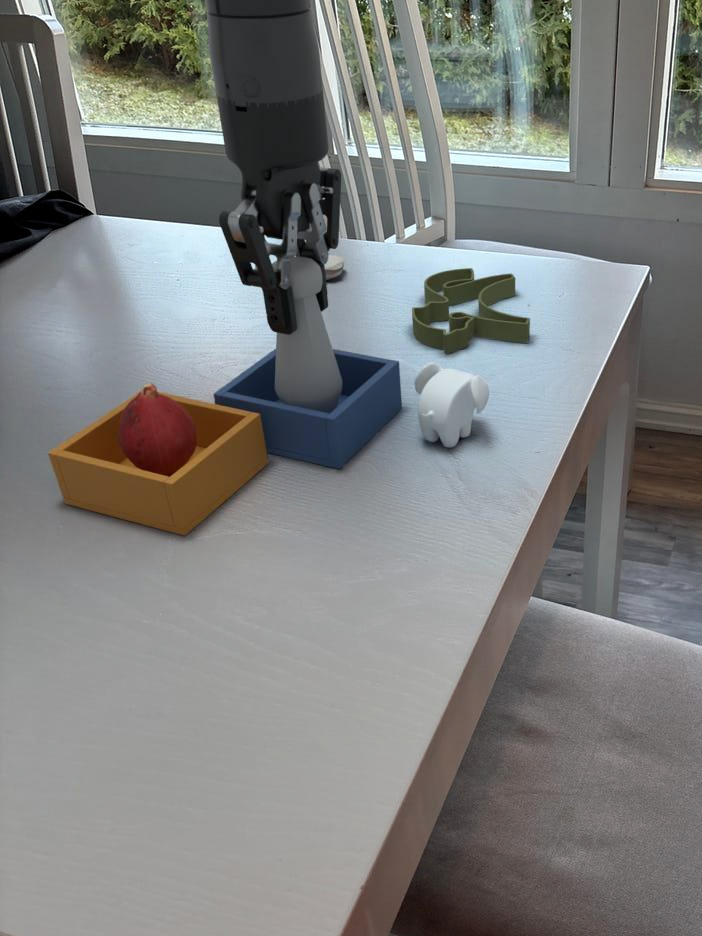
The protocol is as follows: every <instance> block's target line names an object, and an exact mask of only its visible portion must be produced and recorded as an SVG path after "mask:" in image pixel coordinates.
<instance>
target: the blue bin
mask: <svg viewBox="0 0 702 936" xmlns="http://www.w3.org/2000/svg"><path fill="white" fill-rule="evenodd" d="M332 349H333V352H334V355H335V359H336V362H337V365H338V368H339V371H340V375H341V378H342V391H341V395H340V399H339V402H338V405H337V408H336V409H335V410H334V411H332V412H331V413H330V414H329V413H324V412H320V411H315V410H310V409H305V408H301V407H296V406H291V405H286V404H282V402H281V401H280V399H279V397H278V396H277V394H276V391H275V365H276V348H274V349H273V350H271V351H270V352H268V353H267V354H266V355H265V356H263V357H262V358H260V359H259V360H258V361H256V362H255V363H253V365H251V366H250V367H248V368H247V369H245V370H244V371H243V372H242V373H240V374H239V375H237V376H236V377H234V378H233V379H232V380H230V381H229V382H227V383H226V384H225V385H223V386H222V387H221V388H219V389H218V390H217V391H215V392H214V393H213V399H214V404H217V405H222V406H226V407H231V408H235V409H240V410H245V411H249V412H254V413H259V414H260V416H261V422H262V428H263V434H264V439H265V445H266V451H267V454H273V455H277V456H281V457H285V458H289V459H294V460H298V461H304V462H307V463H312V464H314V465H319V466H325V467H327V468H328V467H329V468H334V469H338V470H340V469H341V468H343V466H345V465H346V463H348V461H350V459H352V458H353V457H354V456H355V455H356V454H357V453H358V452H359V451H360V450H361V449H362V448H363V447H364V446H365V445H366V444H367V443H368V442H369V441H370V440H371V439H372V438H373V437H375V436H376V435H377V433H379V431H380V430H382V429H383V427H384V426H386V424H387V423H389V422H390V421H391V420H392V419H393V418H394V417H395V416H396V415H397V414H398V413H399V412H400V411H401V410H402V409H403V406H402V405H403V403H402V402H403V401H402V386H401V370H400V369H401V368H400V361H399V360H394V359H390V358H383V357H378V356H373V355H368V354H362V353H357V352H351V351H347V350H340V349H335V348H332Z"/></svg>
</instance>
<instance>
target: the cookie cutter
mask: <svg viewBox="0 0 702 936" xmlns="http://www.w3.org/2000/svg"><path fill="white" fill-rule="evenodd" d="M423 288H424V289H423V290H424V303H425V305H424V306H418V307H413V306H412V307H411V317H412V319H411V320H412V332H413V333H412V334H413V335H414V337H415V339H416V340H417V341H418V342H420V343H421V344H423V345H425V346H428V347H431V348H435V349H440V350H443V353H444V355H450V354H452V353H453V352H455V351H456V350H464V349H466V348H468V346H469V342H470V341H471V340H473V339H474V338H475V337H479V338H484V339H489V340H493V341H494V340H495V341H501V342H502V341H503V342H511V343H521V344H522V343H523V344H528V342H529V340H530V334H531V333H530V332H531V318H530V317H526V316H519V315H514V314H510V313H505V312H502V311H499V310H496V309H493V308H492V307H490V305H492V304H494V303H496V302H498V301H501V300H503V299H507V298H511V297H515V296H516V277H515V275H514V273H503V274H502V273H501V274H494V275H490V276H486V277H481V278H476V279H475V271H474V269H473V268H472V267H467V268H465V267H464V268H455V269H448V270H443V271H440V272H437V273H434V274H432V275H430V276H428V277H427V278H425V280H424V281H423ZM442 291H443V293H442V294H441V293H439V292H442ZM476 299H478V316H477V315H473V314H469V313H466V312H464V311H455V312H450V307H451V306H455V305H456V306H457V305H459V304H463V303H465V302H469V301H472V300H476ZM446 321H448V329H449V330H448V331H449V332H448V333H447V329H445V328H439V327H434V326H430V323H431V322H446Z"/></svg>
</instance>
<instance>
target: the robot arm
mask: <svg viewBox="0 0 702 936" xmlns="http://www.w3.org/2000/svg"><path fill="white" fill-rule="evenodd" d="M204 5H205V10H206V18H207V32H208V33H207V34H208V51H209V59H210V64H211V65H210V66H211V71H212V77H213V84H214V89H215V90H214V91H215V96H216V102H217V107H218V114H219V119H220V127H221V133H222V139H223V145H224V151H225V155H226V156H227V159H228V161H230V162H231V163H233V164H234V165H235V166H236V167H237V168H238V169H239V171H240V173H241V188H240V189H241V190H240V199H241V202H240V204H239V205H238V206H237V207H236V208H235V209H234V210H233V211H227V210H222V211H221V212H220V214H219V217H218V218H219V219H218V222H219V227H220V228H221V231H222V234H223V236H224V240H225V242H226V244H227V247H228V250H229V252H230V255H231V258H232V260H233V263H234V266H235V269H236V271H237V274H238V277H239V279H240V282H241V284H242V285H243V286H246V287H255V288H256V287H257V288H260V289H261V290H262V295H263V301H264V307H265V308H264V309H265V315H266V321H267V324H268V327H269V329H270V330H271V331H272V332H273V333H276V334H277V333H282V334H287V335H290V334H292V333H293V332H295V331H296V330H297V322H296V314H295V307H294V299H293V292H292V287H290V271H291V258H292V257H306V258H310V259H312V260H314V261H315V262H316V263H317V264H318V265H319V266H320V269H321V272H322V281H323V283H322V287H321V291H320V292H318V293H317V294H316V298H317V301H318V304H319V307H320V311H321V313H322V312H323V311H325V310H326V309H328V307H329V298H328V297H329V296H328V293H329V292H328V284H327V280H326V275H325V265H324V264H326V263H327V261H328V257H329V255H330V254H329V252H330V250H331V249H332V250H336V249H337V248H338V246H339V243H340V242H339V241H340V240H339V239H340V218H341V217H340V216H341V195H342V193H341V192H342V172H341V170H340V169H338V168H331V167H323V166H319V162H320V161H322V160H323V159H325V158H326V156H328V153H329V150H330V149H329V147H330V145H329V138H328V127H327V126H328V125H327V118H326V117H327V116H326V107H325V105H326V104H325V96H324V95H325V94H324V86H323V75H322V74H323V73H322V67H321V65H322V64H321V55H320V48H319V41H318V36H317V32H316V27H315V23H314V18H313V12H312V11H313V10H312V8H311V7H312V1H311V0H204ZM324 216H325V217H326V221H325V218H324ZM266 238H268V239H269V238H270V239H275V240H280V241H281V240H282V241H281V243H280V244H277V243H273V242H272V243H270V242H268V241H267V240H266ZM270 256H274V257H275V258H276V261H277V272H276V271H274V269H273V266H272V263H273V262H272V260H271V258H270ZM252 264H254V267H253V265H252Z"/></svg>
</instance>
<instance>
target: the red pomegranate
mask: <svg viewBox="0 0 702 936" xmlns="http://www.w3.org/2000/svg"><path fill="white" fill-rule="evenodd" d="M138 392H139V394H138V395H137V396H136V397H135V398H134V399H133V400H131V401H130V402H129V403H128V405H127V406H126V407H125V409H124V411H123V413H122V415H121V418H120V424H119V432H118V436H119V444H120V446H121V448H122V451H123V453H124V454H125V455H126V457H127V458H128V459H129V460H130V461H131V462H132V463H133V464H134V465H135V466H136V467H137V468H139V469H142V470H144V471H148V472H152V473H156V474H160V475H164V476H168V477H170V476H172V475H173V474H174V473H175V472H177V471H178V470H179V469H180V468H181V467H182V466H184V465H185V464H186V462H187V461H188V460H189V459H190V458H191V456H192V455H193V453H194V451H195V448H196V445H197V436H196V428H195V425H194V422H193V420H192V418H191V417H190V415H189V414H188V412H187V411H186V410H185V409H184V408H183V407H182V406H181V405H180V404H179V403H177V402H176V401H175V400H173V399H171V398H169V397H167V396H164V395H161V394H158V393H157V392H158V388H157V386H156V385H155V384H154V383H153V382H151V383H145V384H144V385H143V386H142V388H141V389H140V391H138Z"/></svg>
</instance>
